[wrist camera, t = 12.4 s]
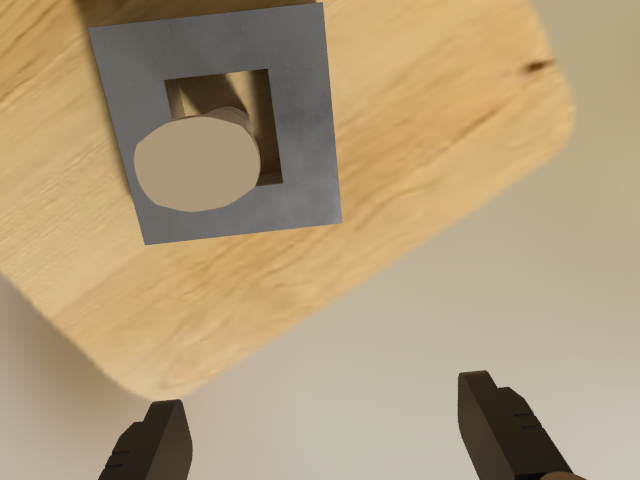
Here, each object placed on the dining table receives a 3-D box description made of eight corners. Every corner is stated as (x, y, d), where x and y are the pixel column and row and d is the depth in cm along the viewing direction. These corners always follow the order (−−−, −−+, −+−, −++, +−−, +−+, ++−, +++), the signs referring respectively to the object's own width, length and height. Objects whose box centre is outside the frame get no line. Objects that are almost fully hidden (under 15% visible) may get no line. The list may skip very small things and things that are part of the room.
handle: (277, 147, 39) (267, 199, 25) (203, 161, 39) (151, 220, 25) (265, 88, 37) (247, 107, 23) (187, 102, 37) (121, 130, 23)
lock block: (109, 30, 35) (87, 27, 31) (319, 8, 35) (322, 2, 31) (158, 228, 41) (145, 245, 37) (338, 207, 41) (342, 222, 37)
